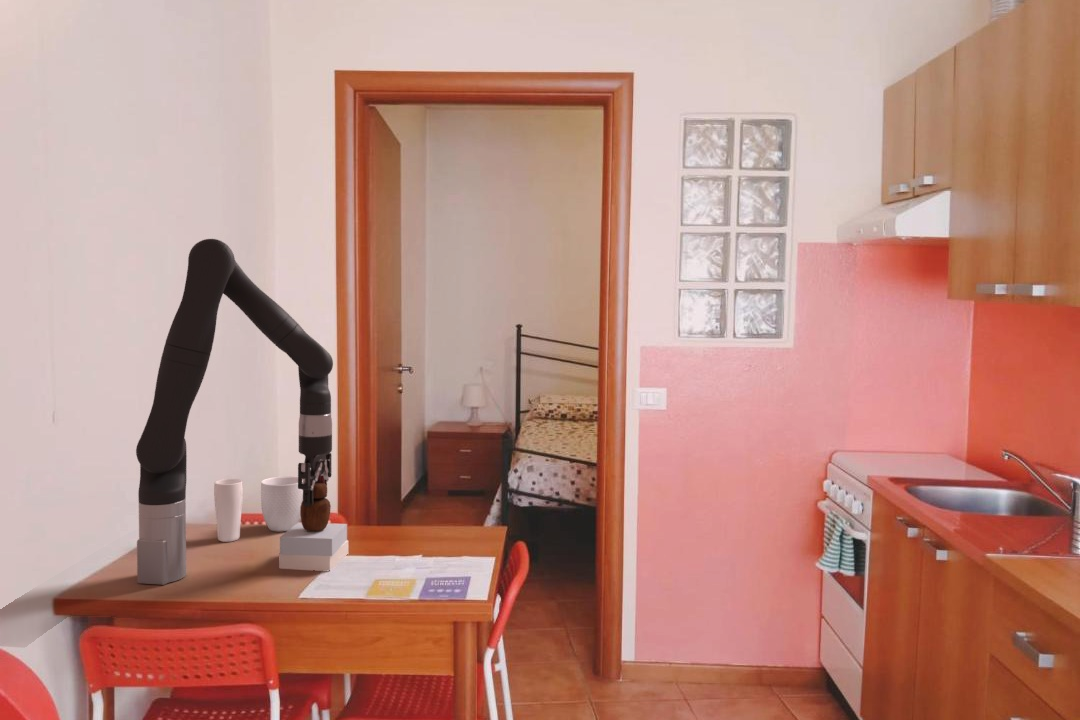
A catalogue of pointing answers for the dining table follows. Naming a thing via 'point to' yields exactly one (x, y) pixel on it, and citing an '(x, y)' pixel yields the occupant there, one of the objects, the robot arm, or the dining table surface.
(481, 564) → the dining table surface
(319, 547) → the tower top slab
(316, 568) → the tower bottom slab
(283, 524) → the mug
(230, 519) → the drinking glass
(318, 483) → the wooden figurine
